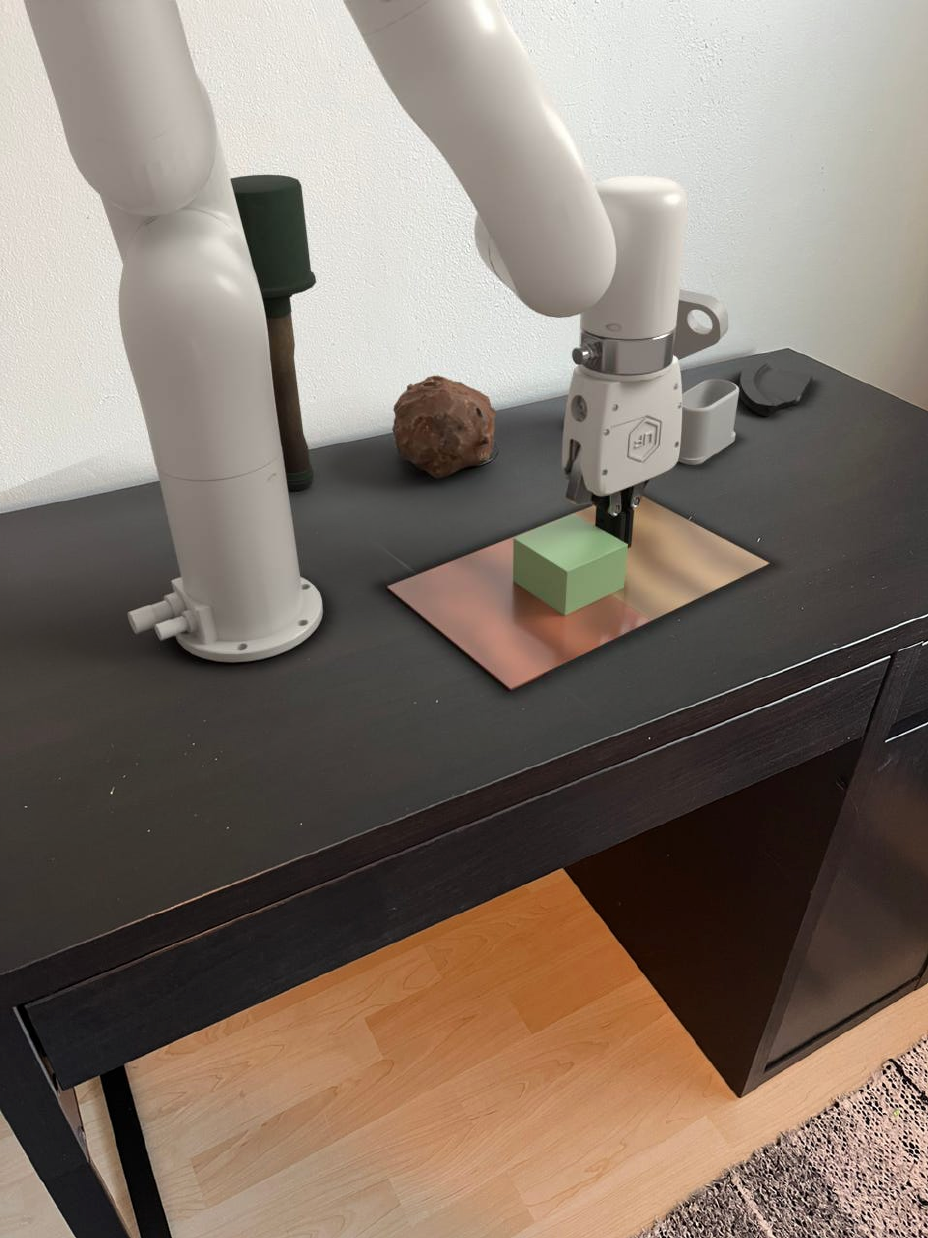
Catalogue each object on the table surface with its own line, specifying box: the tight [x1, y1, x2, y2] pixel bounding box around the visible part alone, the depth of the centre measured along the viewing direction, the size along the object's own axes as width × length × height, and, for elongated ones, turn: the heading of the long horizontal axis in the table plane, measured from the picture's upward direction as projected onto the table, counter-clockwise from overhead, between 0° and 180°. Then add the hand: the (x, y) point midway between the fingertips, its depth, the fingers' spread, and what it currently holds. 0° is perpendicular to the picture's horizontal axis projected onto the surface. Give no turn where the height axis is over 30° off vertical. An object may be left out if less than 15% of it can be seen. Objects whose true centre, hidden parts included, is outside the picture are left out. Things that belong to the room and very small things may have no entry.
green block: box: [513, 513, 628, 616], centre depth 84 cm, size 7×7×4 cm
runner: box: [386, 495, 770, 691], centre depth 87 cm, size 30×18×1 cm, turn 126°
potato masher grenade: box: [230, 174, 317, 492], centre depth 94 cm, size 8×9×30 cm
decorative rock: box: [391, 375, 497, 479], centre depth 103 cm, size 13×11×10 cm
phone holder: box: [673, 288, 740, 466], centre depth 106 cm, size 17×10×18 cm, turn 49°
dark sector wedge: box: [738, 360, 813, 417], centre depth 120 cm, size 8×14×2 cm, turn 150°
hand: (612, 544), depth 87 cm, fingers closed
